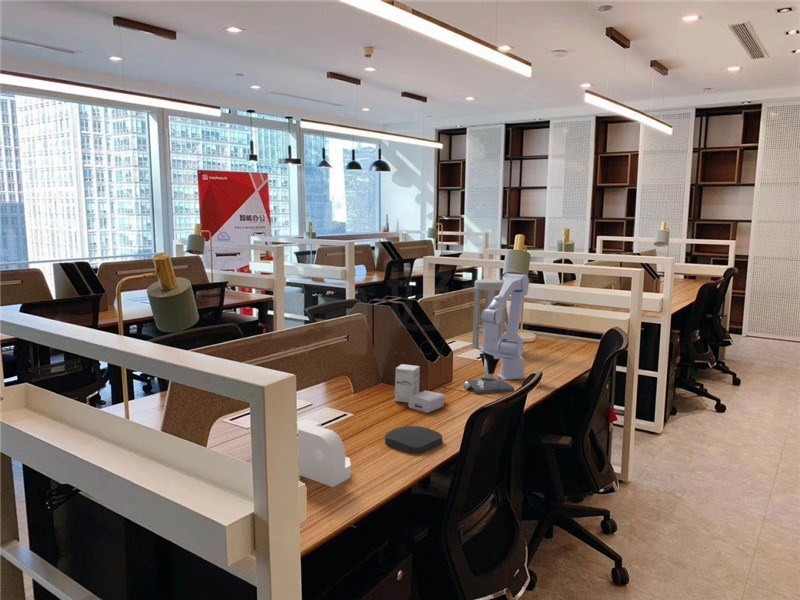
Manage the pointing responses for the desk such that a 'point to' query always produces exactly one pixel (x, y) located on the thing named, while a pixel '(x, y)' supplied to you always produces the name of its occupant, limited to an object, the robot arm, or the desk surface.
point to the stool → (490, 288)
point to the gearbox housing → (488, 385)
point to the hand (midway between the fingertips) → (489, 372)
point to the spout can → (486, 369)
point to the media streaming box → (413, 439)
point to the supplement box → (406, 382)
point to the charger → (426, 401)
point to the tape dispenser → (321, 454)
